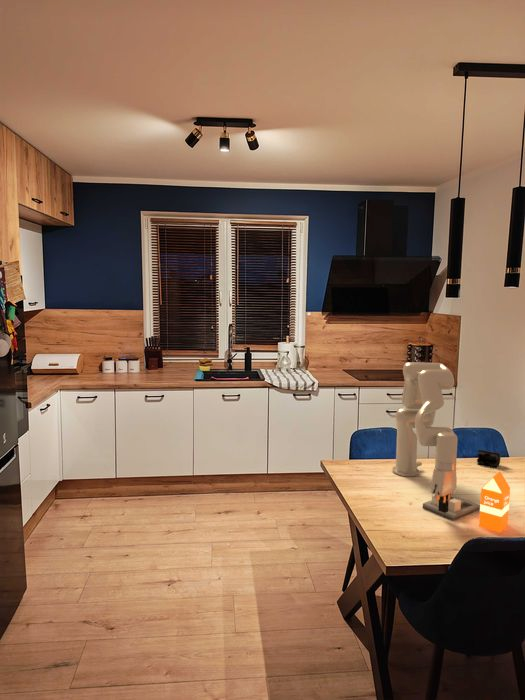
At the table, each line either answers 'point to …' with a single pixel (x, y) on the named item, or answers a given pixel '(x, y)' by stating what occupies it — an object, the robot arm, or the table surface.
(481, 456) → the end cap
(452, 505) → the tab
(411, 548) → the table surface
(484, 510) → the orange juice
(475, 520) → the table surface
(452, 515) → the switch board
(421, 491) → the table surface
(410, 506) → the table surface
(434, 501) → the tab
